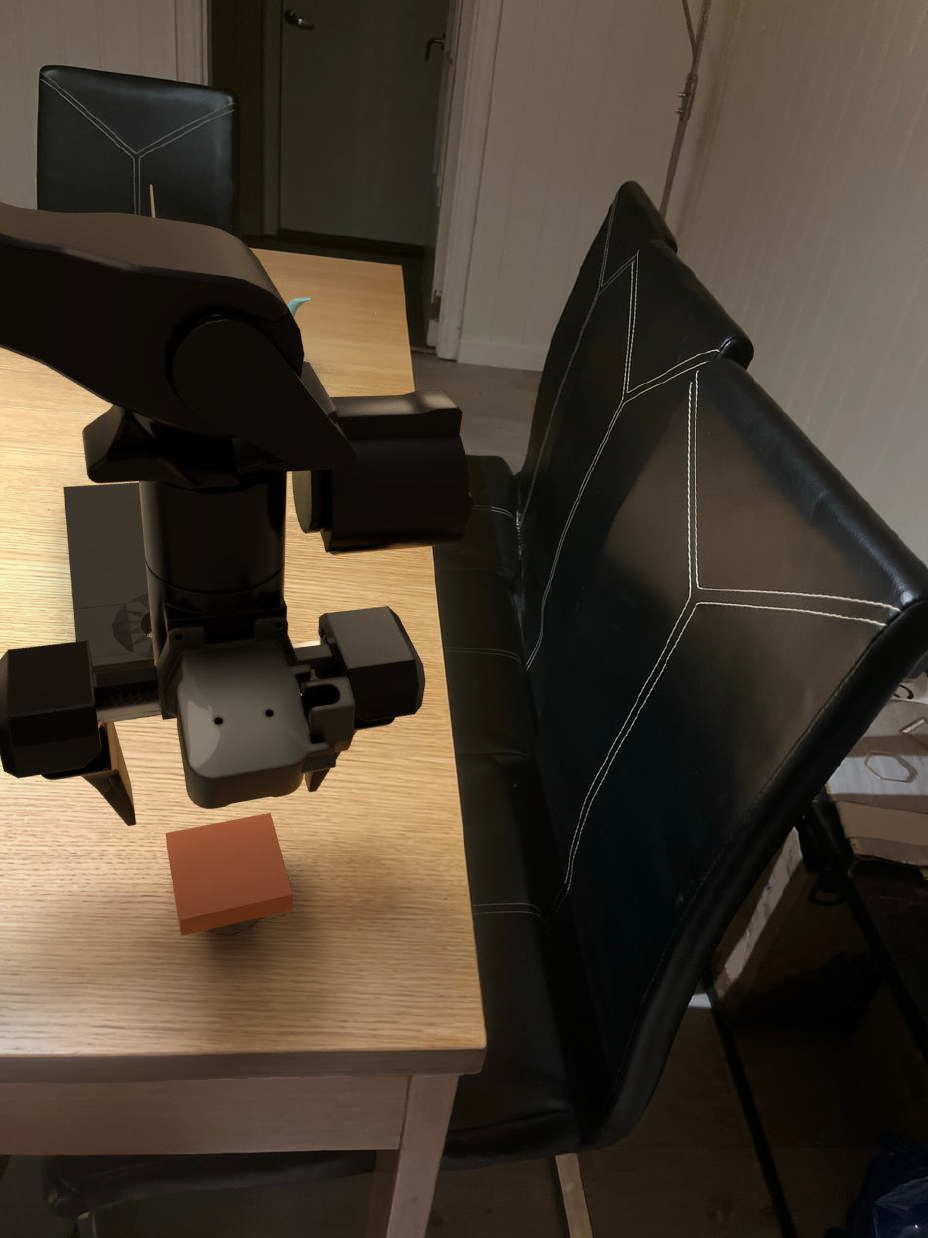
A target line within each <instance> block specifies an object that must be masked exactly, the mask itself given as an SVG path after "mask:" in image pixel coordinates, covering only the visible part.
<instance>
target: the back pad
mask: <svg viewBox="0 0 928 1238" xmlns="http://www.w3.org/2000/svg"><path fill="white" fill-rule="evenodd" d="M62 487H63V488H62V489H63V499H64V511H65V512H64V513H65V525H66V537H67V549H68V563H69V572H70V573H69V575H70V586H71V599H72V610H73V624H74V636H75V642H78V641H87V640H89V642H90V647H91V654H92V661H93V674H94V673H102V672H109V671H117V670H125V669H133V668H141V667H149V666H155V664H154V652H153V641H152V637H150V636H148V634H150V633H152V629H151V618H150V606H149V595H148V583H147V572H146V560H145V548H144V536H143V525H142V513H141V502H140V490H139V481H137V482H119V483H102V484H88V485H87V484H86V485H72V486H71V485H70V486H69V485H68V486H62Z"/></svg>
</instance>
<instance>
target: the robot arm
mask: <svg viewBox="0 0 928 1238" xmlns="http://www.w3.org/2000/svg"><path fill="white" fill-rule="evenodd" d="M0 349H3V350H5V351H8V352H10V353H13V354H16V355H19V356H21V357H24V358H27V359H29V360H31V361H35V362H36V363H39V364H42V365H43V366H45V367H47V368H49V369H50V370H52V371H54V372H55V373H57V374H59V375H60V376H62V377H64V378H66V379H67V380H68V381H70V382H73V383H74V384H76V385H77V386H79V387H80V388H82V389H84V390H85V391H87V392H89V393H90V394H92V395H94V396H96V397H97V398H99V399H100V400H102V401H104V402H106V403H108V404H110V405H111V407H110V408H109V409H107V411H105V412H104V413H102V414H100V415H99V416H98V417H96V418H95V419H93V420H92V421H91V422H90V423H87V424H86V425H85V427H83V428H82V431H81V436H82V445H83V454H84V462H85V469H86V470H85V471H86V476H87V477H88V479H89V480H90V481H91V482H93V483H95V484H119V483H136V482H139V490H140V502H141V513H142V525H143V536H144V548H145V560H146V572H147V583H148V595H149V606H150V618H151V629H152V631H151V638H152V641H153V652H154V664H155V666H149V667H141V668H133V669H125V670H117V671H109V672H102V673H94V674H93V661H92V654H91V647H90V642H89V640H87V641H78V642H76V641H71V642H61V643H54V644H45V645H37V646H27V647H19V648H10V649H7V650H6V651H5V652H4V654H3V655H2V656H1V657H0V762H1V766H2V770H3V772H5V773H6V774H8V775H11V776H12V777H14V778H17V779H24V778H30V777H36V776H41V777H42V778H44V779H46V780H47V781H60V780H65V779H66V780H67V779H71V778H77V777H78V778H79V777H81V778H82V779H83V780H84V781H86V782H87V783H89V785H91V786H92V787H93V788H94V789H95V790H97V792H98V793H99V794H100V795H101V796H102V797H103V798H104V800H105V801H106V802H107V804H108V805H109V806H110V807H111V808H112V810H114V811H115V812H114V813H116V814H117V815H118V817H119V818H120V819H121V820H122V821H123V822H124V824H125V825H126V826H127V827H133V826H136V825H137V818H136V817H137V816H136V810H135V809H136V808H135V802H134V794H133V793H134V792H133V786H132V782H131V778H130V775H129V770H128V767H127V763H126V761H125V756H124V753H123V750H122V746H121V742H120V739H119V736H118V731H117V729H116V728H117V727H116V725H115V723H117V722H124V721H131V720H132V721H133V720H137V719H139V720H140V719H144V718H146V719H147V718H151V717H152V718H153V717H159V716H161V719H162V721H166V720H167V721H168V720H173V719H174V720H175V719H176V730H177V731H176V732H177V737H178V743H179V750H180V756H181V762H182V769H183V775H184V782H185V783H184V784H185V790H186V794H187V796H188V798H189V800H190V801H191V802H192V803H193V804H194V805H195V806H197V807H199V808H200V809H201V808H202V809H205V810H215V809H221V808H222V809H223V808H226V807H227V806H229V805H233V804H238V803H244V802H249V801H255V800H260V799H265V798H280V797H285V796H288V795H291V794H293V793H294V792H296V791H297V790H298V789H299V788H300V787H301V785H302V783H303V780H304V781H305V785H306V788H307V791H308V793H314V792H317V791H318V790H319V788H320V787H321V785H322V783H323V782H324V780H325V778H326V777H327V775H328V773H330V771H331V769H334V768H336V767H337V759H338V758H339V756H340V755H341V753H342V752H346V751H349V749H350V748H351V745H352V743H353V739H354V736H355V735H356V734H357V733H358V731H363V730H369V729H375V728H381V727H386V726H389V725H391V724H393V723H394V721H395V720H396V718H400V717H407V716H408V717H409V716H413V715H416V714H417V713H418V711H419V710H420V708H421V707H422V705H423V702H424V695H425V688H426V675H425V674H426V673H425V668H424V663H423V661H422V658H421V657H420V655H419V653H418V651H417V649H416V647H415V645H414V643H413V641H412V639H411V638H410V636H409V634H408V632H407V629H406V627H405V626H404V624H403V622H402V620H401V618H400V616H399V615H398V614H397V613H396V612H395V611H394V610H393V609H392V608H391V607H389V605H385V606H377V607H376V606H375V607H370V608H358V609H350V610H342V611H333V612H332V611H331V612H324V613H322V614H321V615H319V616H318V627H317V629H318V631H317V634H318V637H319V638H318V639H310V640H304V641H295V642H292V640H291V638H290V636H289V621H288V606H287V602H286V600H285V582H286V580H285V577H286V541H287V540H286V539H287V538H286V536H287V535H286V534H287V533H286V532H287V496H288V494H287V493H288V492H287V491H288V473H291V486H292V498H293V504H294V509H295V514H296V518H297V522H298V524H299V527H300V530H301V531H302V532H303V534H317V533H319V534H320V537H321V540H322V542H323V548H324V551H325V553H328V554H331V555H333V556H338V555H339V556H340V555H350V554H362V553H363V554H364V553H371V552H372V553H374V552H384V551H394V550H395V551H396V550H405V549H406V550H407V549H417V548H429V547H439V546H450V545H451V546H452V545H456V544H459V543H460V542H461V541H462V540H463V539H464V538H465V536H466V533H467V531H468V529H469V525H470V523H471V518H472V515H473V514H472V513H473V507H474V499H473V496H472V494H471V493H470V481H469V480H470V479H469V467H468V462H467V456H466V450H465V447H464V443H463V439H462V436H461V427H462V420H463V414H464V412H463V410H462V409H461V408H460V407H459V406H458V404H457V403H456V402H455V400H454V399H453V398H452V397H451V396H450V394H449V393H448V392H447V391H446V390H445V389H420V390H415V391H410V392H407V393H404V394H392V395H391V394H389V395H387V394H386V395H385V394H384V395H349V396H348V395H347V396H330V395H329V393H328V392H327V390H326V388H325V387H324V385H323V383H322V382H321V380H320V378H319V376H318V375H317V372H316V371H315V369H314V367H313V366H312V364H311V363H310V362H309V361H306V360H305V349H304V343H303V337H302V331H301V329H300V327H299V325H298V323H297V321H296V319H295V317H293V315H292V314H291V312H290V310H289V308H288V304H287V303H286V301H285V300H284V298H283V297H282V295H281V293H280V291H279V290H278V288H277V287H276V285H275V283H274V282H273V280H272V278H271V277H270V275H269V273H268V272H267V271H266V268H265V267H264V265H263V264H262V262H261V260H260V259H259V257H257V255H256V254H255V253H254V252H253V250H252V249H251V248H250V247H249V246H247V244H246V243H244V242H243V241H242V240H241V239H239V238H238V237H237V236H234V235H232V234H231V233H228V232H227V231H225V230H223V229H221V228H219V227H214V226H210V225H206V224H203V223H202V224H201V223H194V222H187V221H182V220H181V221H180V220H174V219H168V218H167V219H166V218H160V217H156V218H153V217H152V216H146V215H139V214H132V213H125V212H56V211H48V210H41V209H35V208H27V207H20V206H15V205H12V204H9V203H5V202H2V201H0ZM304 360H305V361H304Z"/></svg>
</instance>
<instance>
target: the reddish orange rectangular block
mask: <svg viewBox="0 0 928 1238" xmlns="http://www.w3.org/2000/svg"><path fill="white" fill-rule="evenodd" d="M165 842H166V850H167V857H168V863H169V871H170V876H171V883H172V889H173V895H174V902H175V908H176V914H177V915H176V916H177V922H178V928H179V934H180V936H187V935H190V934H195V933H198V932H203V931H209V932H211V933H214V934H217V935H218V934H219V935H234V934H237V933H240V932H242V931H243V932H244V931H245V930H247V929H248V928H249V927H251V926H252V925H253V924H255V922H256V921H257V920H258V919H259V918H263V917H267V916H272V915H276V914H279V913H285V912H288V911H292V910H293V901H294V900H293V899H294V894H293V890H292V886H291V883H290V878H289V876H288V872H287V868H286V864H285V860H284V857H283V852H282V849H281V846H280V842H279V838H278V834H277V830H276V827H275V823H274V820H273V817H272V813H271V812H267V813H262V814H261V813H260V814H256V815H252V816H246V817H241V818H235V819H231V820H226V821H219V822H215V823H210V824H205V825H199V826H194V827H189V828H184V829H180V830H174V831H169V832H165Z"/></svg>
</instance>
